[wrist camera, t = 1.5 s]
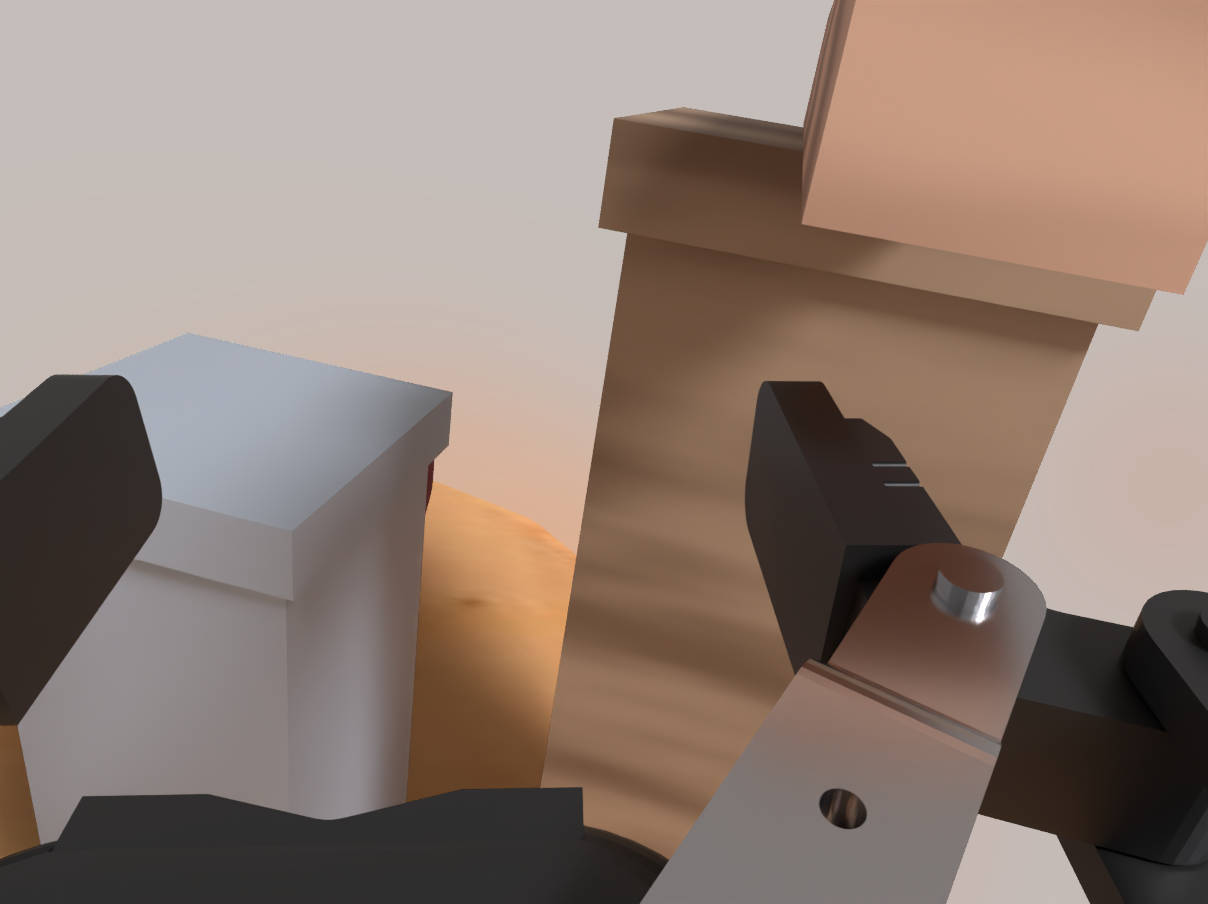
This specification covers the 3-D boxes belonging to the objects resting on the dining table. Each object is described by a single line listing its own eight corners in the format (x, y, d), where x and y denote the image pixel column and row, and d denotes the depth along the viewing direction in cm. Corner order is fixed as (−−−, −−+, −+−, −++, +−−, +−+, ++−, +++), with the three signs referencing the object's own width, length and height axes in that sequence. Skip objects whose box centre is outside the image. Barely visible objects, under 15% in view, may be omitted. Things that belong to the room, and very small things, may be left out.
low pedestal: (298, 1078, 29) (292, 531, 20) (44, 988, 30) (-75, 437, 21) (418, 843, 38) (452, 392, 29) (217, 783, 39) (188, 333, 30)
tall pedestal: (761, 1202, 28) (1187, 217, 14) (473, 1103, 29) (614, 118, 16) (771, 929, 37) (1039, 167, 23) (551, 863, 38) (683, 107, 24)
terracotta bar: (1183, 294, 7) (1390, -167, 5) (802, 224, 7) (909, -221, 6) (899, 139, 26) (928, 33, 25) (803, 123, 27) (828, 18, 25)
